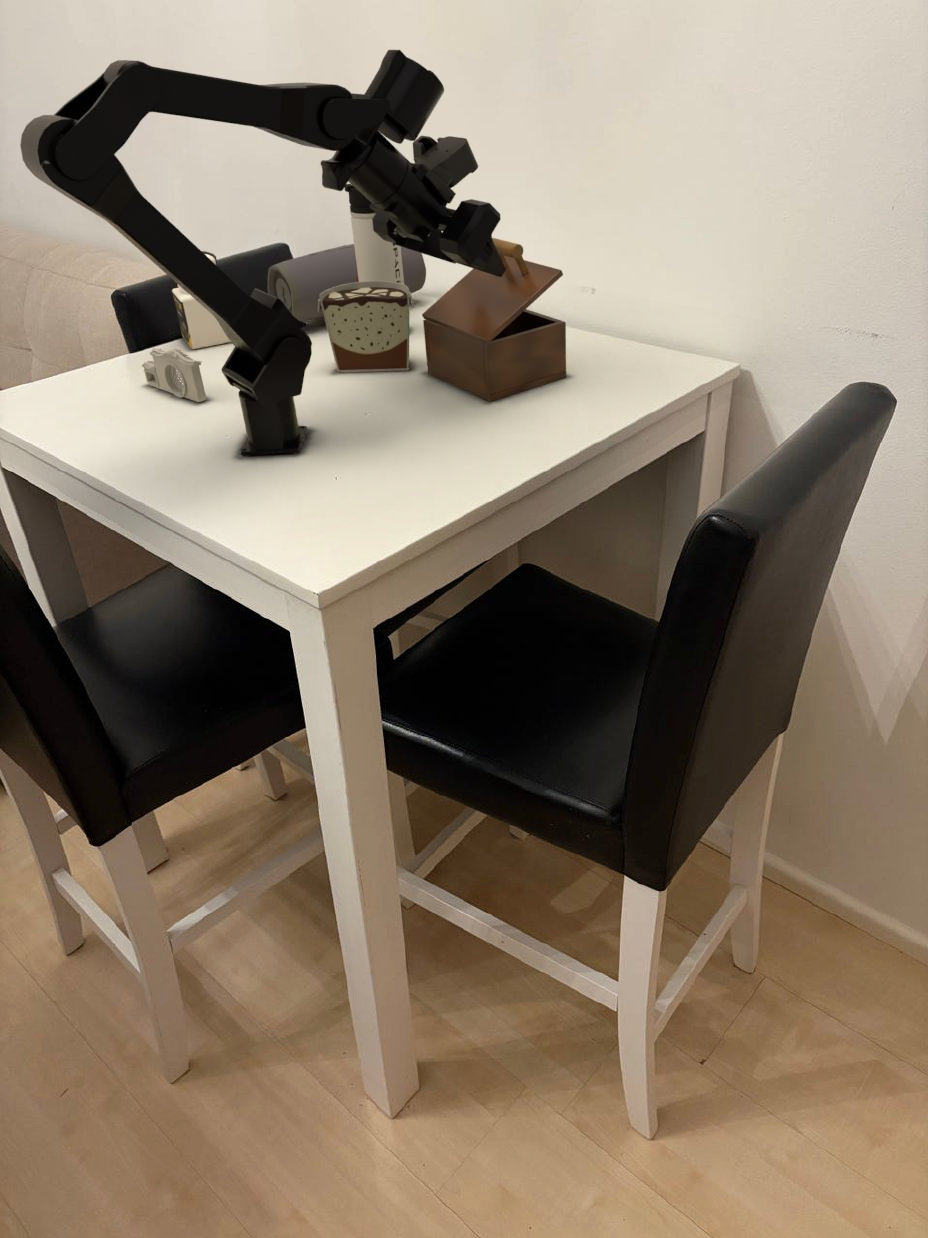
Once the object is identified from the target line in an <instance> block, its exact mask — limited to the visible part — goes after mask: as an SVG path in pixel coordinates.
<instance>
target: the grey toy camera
mask: <svg viewBox="0 0 928 1238" xmlns="http://www.w3.org/2000/svg"><path fill="white" fill-rule="evenodd" d="M149 355H150V356H152V360H145V361H143V363H142V364H141V368H143V372H144V375H145V380H146V383H147V384H148V386H151V387H153V388H157V389H158V390H159V389H160V390H162V391H165V392H168V393H171V394H173V395H174V396H175V397H176V398H185V399H187V400H191V401H194V402H197V403H201V402H203V401H206V400H207V395H206V391H205V386H204V382H203V378H202V372H201V369H200V366H202V363H203V361H201V360H195V359H194V358H192V357H190V356H188V354H187V353H184V351H182V350H181V349H174V348H173V349H172V348H171V349H168V350H163V349H162V348H155V347H153V348H152V349H151V351H150V352H149Z"/></svg>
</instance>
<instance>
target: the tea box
mask: <svg viewBox="0 0 928 1238" xmlns="http://www.w3.org/2000/svg"><path fill="white" fill-rule="evenodd" d="M422 322H423V323H422V324H423V333H424V334H423V335H424V344H425V355H426V367H427V374H429V375H431V376H433V377H435V378H437V379H440V380H442V381H444V382H446V383H448V384H451V385H453V386H454V387H457V388H459V389H462V390H463V391H466V392H468V393H470V394H472V395H475V396H476V397H479V398H481V399H484V400H486V401H488V402H493V401H497V400H500V399H503V398H505V397H509V396H513V395H516V394H518V393H521V392H524V391H527V390H531V389H533V388H536V387H539V386H543V385H547V384H549V383H552V382H555V381H558V380H559V381H560V380H562V379H565V378H567V322H566V321H564V320H561V319H557V318H555V317H553V316H552V317H551V316H548V315H546V314H544V313H543V314H542V313H539V312H536V311H533V310H530V309H528V308H526V309H525V310H524V311H523V312H522V313H521V314H520V315H519V316H518V317H517V318H515V319H514V320H513V321H512V322H511V323H510V324H509V325H508V326H507V327H506V328H505V329H503V330H502V331H501V332H500V333H499V334H498V335H497V336H496V337H495V338H494V339H493V340H491V341H490V342H489V343H486V342H483V341H481V340H478V339H475V338H473V337H470V336H468V335H465V334H462V333H460V332H457V331H454V330H452V329H449V328H447V327H444V326H441V325H439V324H436V323H434V322H431V321H428V320H426V319H423V320H422Z"/></svg>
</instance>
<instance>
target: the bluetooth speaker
mask: <svg viewBox="0 0 928 1238" xmlns="http://www.w3.org/2000/svg"><path fill="white" fill-rule="evenodd" d="M401 256H402V266H403V276H404V285H406V286H407V287H408V289H409V291H410V292H411V294H413V293H416V292H418V291H420V290H422V289H423V287H424V286H425V284H426V279H427V268H426V263H425V259H424V256H423V253H419V252H416V251H413V250H410V249H407V248H404V247H401ZM267 270H268V271H267V294H270V295H272V296H274V297H276V298H279V299H280V300H281V301H282V302H283V303H284V304H285V306H286V307H287V308H288V310H289V311H290V313H291V314H292V315H293V316H294V317H295V318H296V319H298V320H300V321H303V322H305V323H307V322H310V321H311V322H312V321H317V320H320V322H322V323H323V324H326V322H325V318H324V314H323V310H322V309H321V310H320V311H319V312H318V300H319V299H320V296H319V295H320V294H321V293H322V292H324V291H325V290H327V289H330V288H333V287H336V286H339V285H343V284H348V283H355V282H359V279H358V271H357V263H356V255H355V247H354V243H351V244H344V245H340V246H336V247H334V248H328V249H325V250H319V251H315V252H312V253H309V254H305V255H302V256H298V257H294V258H291V259H287V260H284V261H280V262H278V263H276V264H273V265H271V266H270V267H268V269H267Z"/></svg>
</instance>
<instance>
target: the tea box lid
mask: <svg viewBox="0 0 928 1238" xmlns="http://www.w3.org/2000/svg"><path fill="white" fill-rule="evenodd" d="M492 239H493V241H494V244H495V247H496V249H497V251H498V253H499V255H500V257H501V259H502V262H503V264H504V266H505V268H506V271H505V272H504V274H503V276H502V277H498V276H495V275H492V274H489V273H486V272H483V271H480V270H477V269H474V268H471V270H470V271H469V272H468V273H466V274H465V275H464V276H463V277H462V278H461V279H460V280H459V281H458V282H457V283H456V284H454V285H453V286H452V287H451V288H450V289H449V290H448V291H446V292H445V293H444V294H443V295H441V297H440V298H439V299H437V300H436V301H435V302H434V303H433V304H432V305H430V306H429V307H428V308H427V309H426V310H425V311H424V312H423V313H422V314H421V316H422V319H423V320H428V321H431V322H434V323H436V324H439V325H441V326H444V327H447V328H449V329H452V330H454V331H457V332H460V333H462V334H465V335H468V336H470V337H473V338H475V339H478V340H481V341H483V342H486V343H489V342H490V341H491V340H493V339H494V338H495V337H496V336H497V335H498V334H499V333H500V332H501V331H502V330H503V329H505V328H506V327H507V326H508V325H509V324H510V323H511V322H512V321H513V320H514V319H515V318H517V317H518V316H519V315H520V314H521V313H522V312H523V311H524V310H525V309H528V308H529V307H530V306H531V305H532V304H533V303H534V302H535V301H537V300H538V299H539V298H540V297H541V296H542V295H543V294H544V293H545V292H546V291H547V290H549V288H551V287H552V286H553V285H554V284H555V283H556V282H558V281H559V280H560V279H561V278H562V277H563V276H564V273H563V271H562V269H559V268H555V267H552V266H549V265H544V264H540V263H537V262H533V261H529V260H525V259H524V257H523V255H524V247H523V245H521V244H519V243H516V242H512V241H508V240H504V239H499V238H496V237H495V238H494V237H492Z"/></svg>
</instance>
